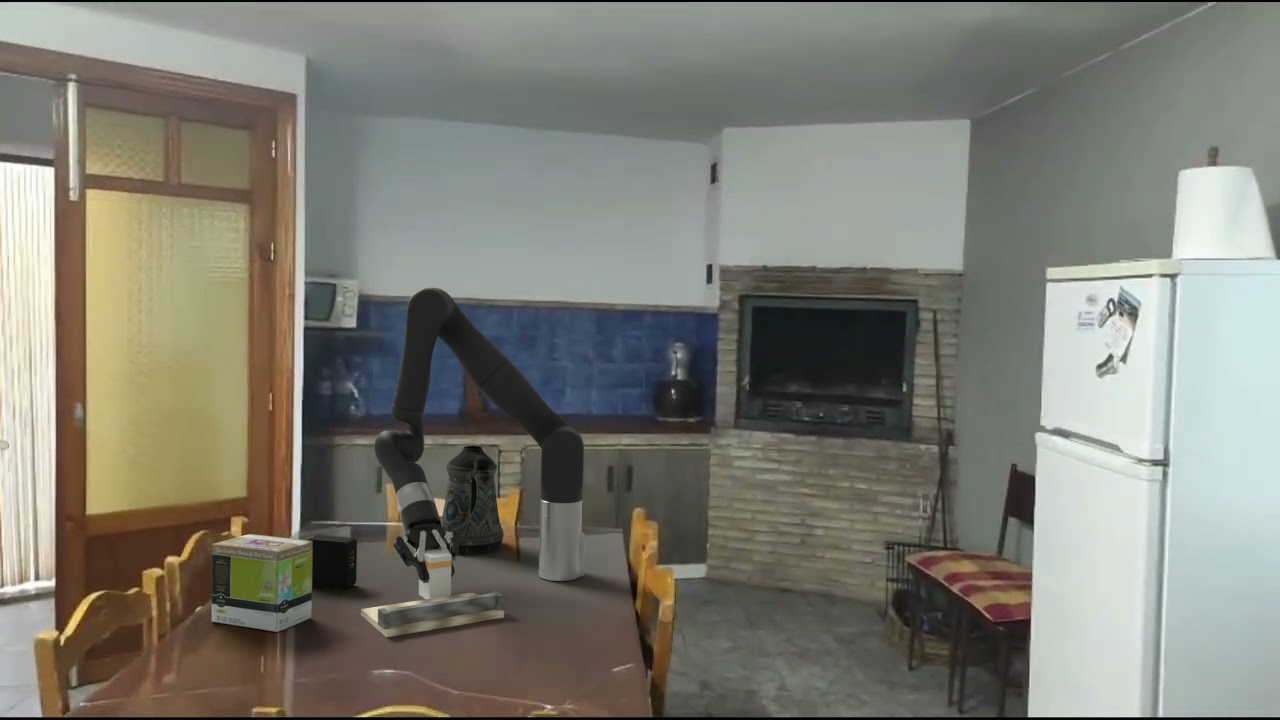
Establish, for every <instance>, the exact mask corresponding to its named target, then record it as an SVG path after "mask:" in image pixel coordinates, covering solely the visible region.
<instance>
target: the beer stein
mask: <svg viewBox="0 0 1280 720" xmlns="http://www.w3.org/2000/svg"><path fill="white" fill-rule="evenodd" d="M445 468H446V473H447V474H448V481H447V488H446V494H445V498H444V499H445V500H444V505H443V511H442V516H441V518H440V520H441V525H442V527H443V528H444V529H445V531H446V532H453V531H455V530H457V531H458V532H459V554H458V555H464V556H465V555H481V554H490V553H494V552H497V551H498V550H500V549H502V544H503V539H504V535H505V534H504V529H503V527H502V524H501V521H500V516H499V510H498V509H499V508H498V501H497V494H496V483H495V474H496V472H497V468H498V465H497V464H496V462H495V461H494V460H493V459H492V458H491V457H490V456H489V455H487V453H485V451H484V450H483V447H482V446H481V445H480V446H479V445H466V446H463V448H462V451H460V452H459V453H458V454H457V455H455V456H454V457H453V458H452V459H451V460H449V461H448V462H447V464H446V465H445ZM443 541H444V543H445V544H446V546H447V549H448V551H449V552H450V543H448V541H447V539H446V538H445V537H444V539H443Z"/></svg>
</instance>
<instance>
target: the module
mask: <svg viewBox="0 0 1280 720" xmlns="http://www.w3.org/2000/svg"><path fill="white" fill-rule="evenodd" d="M423 555H424V560H423V562H425V564H426V567H427V570H428V573H429V580H428V582H427V583H423V581H421V580H420V579H419V578H418V595H419V596H420V597H422V598H423V600H425V599H432V598H439V597H445V596H452V593H451V592H452V591H451V590H452V579H451V566H452V563H453V561H452V560H451V556H452V555H450V554H449V553H447V552H445V551H442V550H439V549H432V550H425V551H424V553H423Z"/></svg>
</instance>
